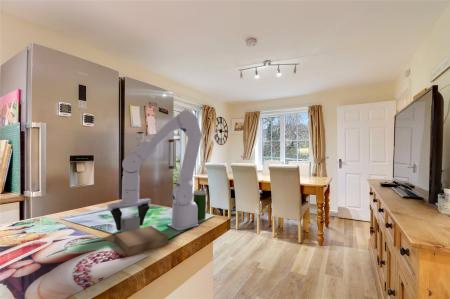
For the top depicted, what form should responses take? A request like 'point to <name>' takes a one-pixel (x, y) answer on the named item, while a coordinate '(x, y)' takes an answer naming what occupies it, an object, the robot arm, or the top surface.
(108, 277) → the top surface
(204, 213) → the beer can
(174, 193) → the robot arm
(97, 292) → the top surface
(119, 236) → the walnut slab
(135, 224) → the grey cube
